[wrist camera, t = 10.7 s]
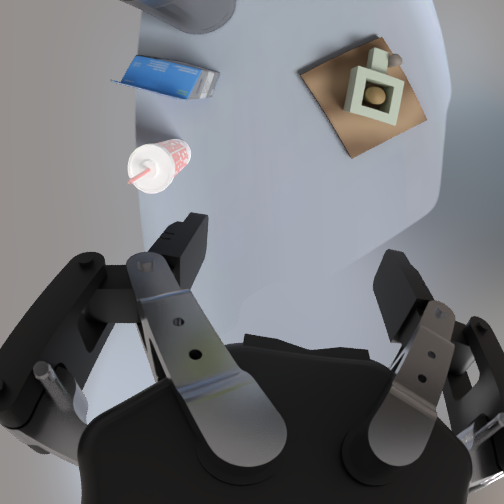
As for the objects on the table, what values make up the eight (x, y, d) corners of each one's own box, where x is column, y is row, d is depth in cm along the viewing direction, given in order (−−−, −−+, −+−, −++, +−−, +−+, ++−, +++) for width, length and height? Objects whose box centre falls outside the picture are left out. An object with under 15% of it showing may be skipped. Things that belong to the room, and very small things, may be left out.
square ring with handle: (385, 122, 32) (395, 126, 28) (343, 110, 32) (349, 111, 28) (396, 59, 27) (408, 56, 23) (354, 45, 27) (362, 40, 24)
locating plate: (300, 75, 31) (302, 72, 27) (379, 38, 26) (390, 31, 23) (350, 157, 36) (357, 164, 32) (424, 119, 31) (438, 122, 27)
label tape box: (221, 73, 32) (193, 63, 21) (211, 100, 34) (179, 101, 24) (164, 58, 31) (118, 48, 21) (155, 84, 33) (107, 83, 23)
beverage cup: (149, 148, 38) (95, 174, 26) (181, 125, 36) (133, 141, 24) (171, 181, 41) (125, 219, 29) (203, 160, 39) (166, 192, 27)
